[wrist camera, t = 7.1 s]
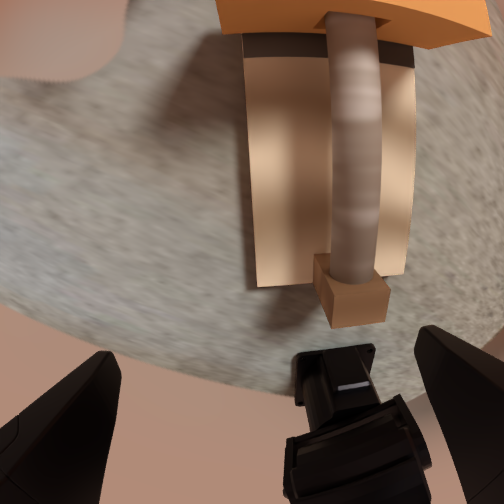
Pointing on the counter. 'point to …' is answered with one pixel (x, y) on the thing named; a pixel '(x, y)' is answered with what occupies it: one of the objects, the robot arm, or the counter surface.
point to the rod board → (331, 162)
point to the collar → (369, 4)
